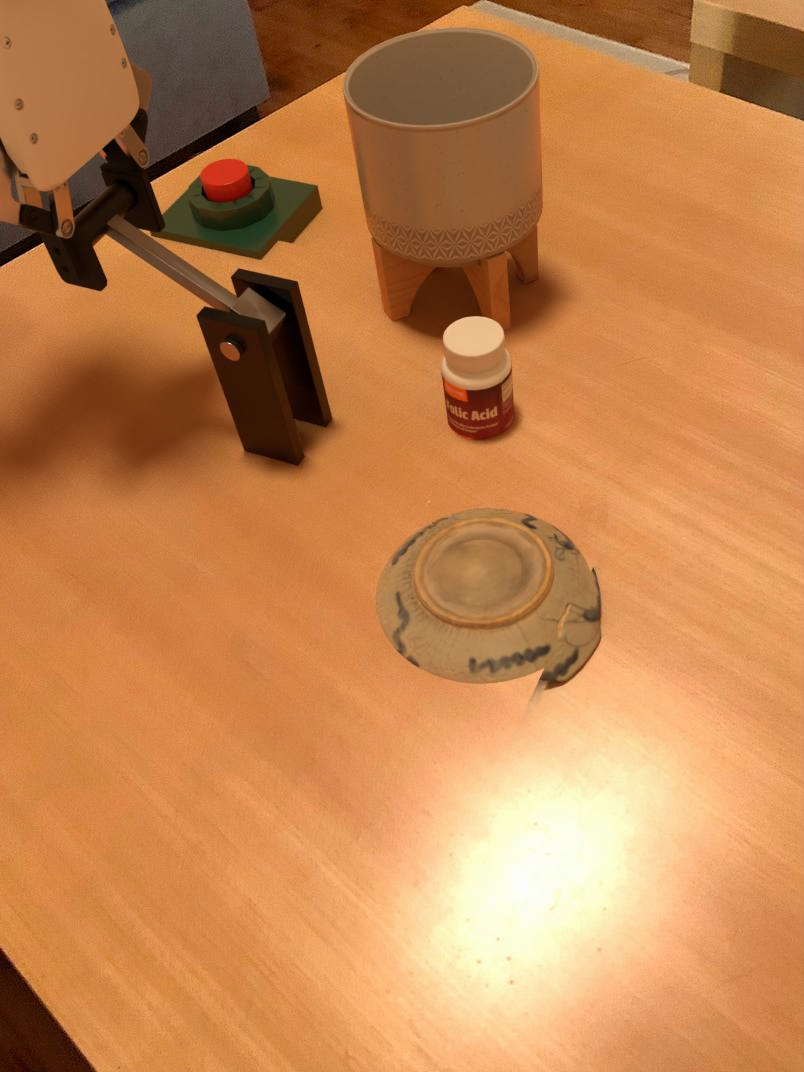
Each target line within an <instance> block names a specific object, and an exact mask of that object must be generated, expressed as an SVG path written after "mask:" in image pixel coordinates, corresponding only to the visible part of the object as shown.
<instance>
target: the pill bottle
mask: <svg viewBox="0 0 804 1072" xmlns="http://www.w3.org/2000/svg"><path fill="white" fill-rule="evenodd" d="M505 337H506V336H505V330H504V331H503V329H502V327H501V326H500V325H499V323H497V322H496V321H494V320H492V319H490V318H487V317H482V315H481V316H479V315H475V316H465V317H462V318H460V319H457V320H455V321H453V322H452V323H451V324H449V325H448V326H447V327H446V329H445V330H444V332H443V335H442V345H443V355H444V356H443V357H442V360H441V364H440V374H441V379H442V387H443V395H444V402H445V403H444V404H445V409H446V410H445V411H446V419H447V424H448V426H449V428H450V429H451V431H452V432H453V433H455V435H457V436H459V437H461V438H464V439H468V440H475V441H481V440H483V441H484V440H489V439H492V438H495V437H497V436H501V435H502V434H504V433H505V432H507V430H508V429H509V428H510V427H511V426H512V424H513V422H514V421H515V414H516V413H515V402H514V401H515V400H514V383H513V381H514V380H513V361H512V358H511V357H512V356H511V355H510V353H509V351H508V349H507V348H506V338H505Z"/></svg>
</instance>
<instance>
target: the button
mask: <svg viewBox="0 0 804 1072" xmlns="http://www.w3.org/2000/svg"><path fill="white" fill-rule="evenodd" d="M247 165H248V164H247V163H245V162H244V161H243V160H240V159H237V158H222V159H218V160H216V161H212V162H210V163H209V164H207V165H206V166H205V167H204V168H203V169H201V171H200V173H199V175H200V178H201V181H202V185H203V188H204V191H205V194H206V197H207V199H208V200H209V201H212V202H217V203H224V202H232V201H236V200H238V199H241V198H243V197H245V196H247V195H248V194H249V193H250V192H251V191H252V188H253V185H252V181H251V178H250V174H249V170H248V167H247Z"/></svg>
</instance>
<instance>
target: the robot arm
mask: <svg viewBox="0 0 804 1072" xmlns="http://www.w3.org/2000/svg"><path fill="white" fill-rule="evenodd" d="M152 88H153V79H152V76H151V74H150V73H149V72H147V71H146V70H145V69H143V68H141V67H140V66H139V65H137V64H136V63H134V62H133V61H131V60H130V59H129V58H128V55H127V52H126V49H125V47H124V44H123V41H122V38H121V36H120V33H119V31H118V28H117V26H116V23H115V21H114V19H113V16H112V14H111V12H110V9H109V6H108V4H107V2H106V0H0V222H2V223H7V224H10V225H14V226H16V227H19V228H22V229H26V230H28V231H31V232H35V233H38V234H39V236H40V238H41V240H42V242H43V245H44V247H45V249H46V251H47V253H48V255H49V257H50V259H51V261H52V264H53V267H54V268H55V270H56V273H57V274H58V275H59V277H60V279H61V280H62V281H63V282H64V283H66V284H68V285H72V286H76V287H80V288H84V289H89V290H93V291H96V292H103V290H105V288H107V287H108V278H107V276H106V273H105V271H104V269H103V266H102V264H101V262H100V260H99V257H98V254H97V253H96V250H95V248H94V247H95V246H93V245H92V243H91V240H90V238H89V236H88V233H87V232H86V230H85V229H83V228H79V227H75V223H74V218H75V216H74V211H73V205H72V199H71V193H70V186H69V181H68V180H69V179H70V178H71V177H73V175H75V174H76V172H78V171H79V170H80V169H81V168H82V167H83V166H85V165H86V164H87V163H88V162H89V161H90V160H91V159H92V158H94V157H95V156H96V155H97V154H98V153H99V155H100V157H102V158H103V160H105V161H106V162H103V163H102V164H101V165H100V166H99V169H100V171H101V177H102V179H103V182H104V184H105V187H106V188H107V187H108V186H109V185H110V184H111V183H112V182H113V181H115V180H116V179H122V180H125V181H126V182H128V183H129V184H130V185H131V186H132V187H133V188H134V189H135V191H136V193H137V195H138V203H137V205H136V206H135V207H134V208H133V209H132V210H131V211H130V212H129V213H127V214H126V215H125V216H124V217H123V219H125V220H126V221H128V222H129V223H131V224H132V225H134V226H135V227H137V228H138V229H139V230H141V231H147V232H150V231H151V232H161V231H162V230H163V229H164V228H165V222H164V219H163V216H162V214H163V213H162V211H161V208H160V205H159V202H158V200H157V197H156V194H155V191H154V188H153V186H152V183H151V180H150V177H149V174H148V172H147V170H146V168H147V167H148V166H149V163H150V160H151V157H150V152H149V150H148V148H147V146H146V139H147V138H146V137H147V132H148V131H147V130H148V125H149V116H148V113H147V111H148V109H149V105H150V104H149V103H150V98H151V94H152ZM13 175H14V180H15V185H16V187H15V188H16V191H17V197H18V201H17V200H16V199H15V198H14V197H13V193H12V188H13V187H12V186H13ZM41 192H46V195H47V201H48V206H49V210H48V209H44V206H43V200H42V194H41Z"/></svg>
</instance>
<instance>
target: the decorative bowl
mask: <svg viewBox="0 0 804 1072" xmlns="http://www.w3.org/2000/svg"><path fill="white" fill-rule="evenodd" d="M600 594H601V590H600V583H599V579H598V575H597V572H596V570H595V568H594V566H592V569H591V568H590V566H589V564H588V561H587V560H586V558H585V556H584V555H583V553H582V551H581V550H580V548H579V547H578V546H577V545H576V543H575V542H574V541H573V540H572V539H571V538H570V537H569V536H568V535H567V534H565V533H564V532H563V531H562V530H560V529H559V528H557V527H556V526H554V525H553V524H552V523H549V522H547V520H544V519H542V518H539V517H537V516H534V515H531V514H528V513H525V512H521V511H517V510H510V509H505V508H490V507H489V508H487V507H486V508H473V509H467V510H461V511H457V512H454V513H451V514H448V515H445V516H443V517H440V518H437V519H435V520H434V521H432V522H431V524H428V525H426V526H424V527H422V528H420V529H418V530H416V531H415V532H414V533H412V534H411V536H409V537H408V538H407V539H405V541H404V542H402V543H401V545H400V546H399V547H398V548H396V550H395V551H394V552H393V554H392V555H391V556H390V558H389V559H388V561H387V562H386V564H385V566H384V567H383V570H382V571H381V573H380V575H379V578H378V581H377V585H376V591H375V607H376V608H375V610H376V611H375V612H376V617H377V620H378V623H379V625H380V628H381V630H382V631H383V633H384V636H385V637H386V638H387V640H388V641H389V643H390V644H391V645H392V647H393V648H394V649H395V650H396V652H398V654H400V656H402V657H403V658H404V659H405V660H406V661H408V662H409V663H411V664H412V665H414V666H415V667H416V668H418V669H420V670H422V671H424V672H426V673H427V674H430V675H432V676H435V677H438V678H441V679H444V680H447V681H448V680H449V681H452V682H456V683H463V684H473V685H474V684H475V685H485V684H497V683H504V682H509V681H514V680H518V679H521V678H525V677H527V676H530V675H533V674H535V673H537V672H539V671H542V670H543V671H542V673H541V674H540V677H539V680H538V681H540V680H541V681H547V682H557V683H558V682H559V683H563V682H567V681H568V680H569V679H570V678H572V676H574V675H575V674H576V673H577V672H578V671H579V670H580V669H581V668H582V667H583V666H584V665H585V664H586V662H587V661H589V658H590V657H591V656H592V654H593V652H594V651H595V650H596V649H597V646H598V644H599V642H600V640H601V636H602V629H601V623H600V610H601V595H600Z"/></svg>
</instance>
